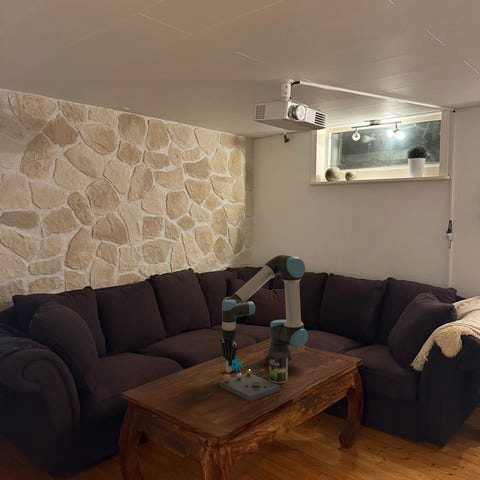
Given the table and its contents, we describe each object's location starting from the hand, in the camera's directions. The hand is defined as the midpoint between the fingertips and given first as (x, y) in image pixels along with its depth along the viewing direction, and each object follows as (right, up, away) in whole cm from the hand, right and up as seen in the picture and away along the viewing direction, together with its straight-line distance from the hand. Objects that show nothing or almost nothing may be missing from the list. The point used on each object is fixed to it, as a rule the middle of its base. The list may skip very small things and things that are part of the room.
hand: (228, 371), depth 242 cm
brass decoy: (+11, 0, -1) cm, 11 cm away
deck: (+10, -5, -12) cm, 16 cm away
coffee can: (+27, -4, -1) cm, 27 cm away
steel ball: (+6, 0, -7) cm, 9 cm away
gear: (+3, -3, +14) cm, 15 cm away
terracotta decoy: (-1, 0, -11) cm, 11 cm away
